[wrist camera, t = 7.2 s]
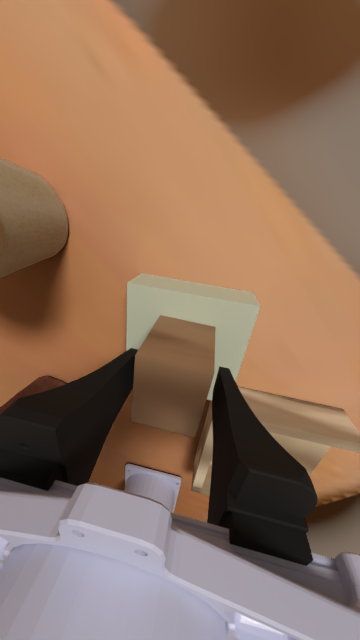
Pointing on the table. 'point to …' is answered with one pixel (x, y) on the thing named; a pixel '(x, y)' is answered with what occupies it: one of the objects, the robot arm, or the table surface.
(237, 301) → the sage stand
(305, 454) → the birch box
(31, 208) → the flower pot
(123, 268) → the table surface
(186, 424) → the walnut block
